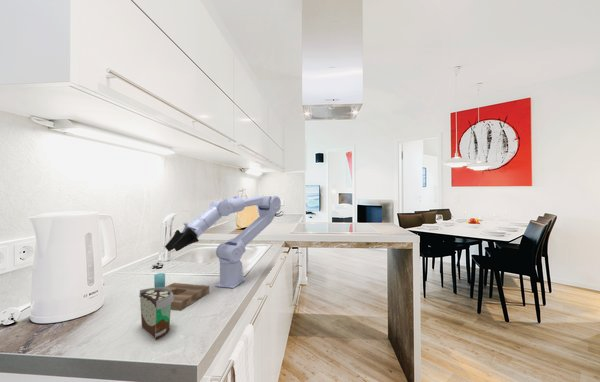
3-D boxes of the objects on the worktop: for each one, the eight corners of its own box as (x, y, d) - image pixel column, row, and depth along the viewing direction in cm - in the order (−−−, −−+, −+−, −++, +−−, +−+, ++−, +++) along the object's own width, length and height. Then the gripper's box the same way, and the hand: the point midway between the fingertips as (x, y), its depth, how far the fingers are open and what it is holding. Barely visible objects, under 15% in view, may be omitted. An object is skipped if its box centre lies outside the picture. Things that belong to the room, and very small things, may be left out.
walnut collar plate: (174, 289, 103) (174, 282, 103) (209, 292, 99) (209, 285, 99) (141, 305, 89) (141, 297, 89) (180, 310, 85) (180, 302, 85)
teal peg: (159, 287, 106) (159, 272, 106) (167, 287, 105) (167, 273, 105) (152, 290, 103) (152, 275, 102) (160, 291, 102) (160, 276, 102)
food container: (182, 332, 72) (182, 294, 72) (157, 342, 67) (157, 301, 67) (163, 318, 80) (162, 283, 80) (139, 326, 75) (139, 289, 75)
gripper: (187, 216, 104) (156, 240, 95) (204, 212, 93) (170, 238, 85) (199, 230, 106) (169, 255, 97) (216, 228, 95) (184, 256, 87)
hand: (170, 248), depth 91 cm, fingers open, 7 cm apart
